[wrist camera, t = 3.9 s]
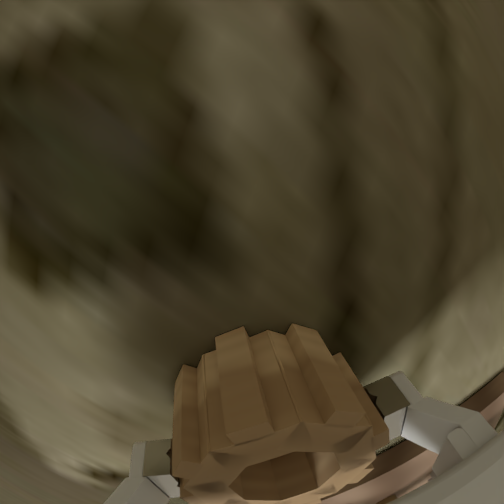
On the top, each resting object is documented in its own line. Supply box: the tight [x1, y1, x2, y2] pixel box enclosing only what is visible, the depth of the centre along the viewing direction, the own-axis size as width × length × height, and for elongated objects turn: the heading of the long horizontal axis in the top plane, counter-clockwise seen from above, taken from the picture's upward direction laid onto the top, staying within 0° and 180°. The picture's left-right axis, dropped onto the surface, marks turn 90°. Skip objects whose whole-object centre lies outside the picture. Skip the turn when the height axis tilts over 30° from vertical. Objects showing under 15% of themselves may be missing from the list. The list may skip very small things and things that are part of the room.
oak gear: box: [172, 323, 389, 504], centre depth 9 cm, size 7×7×4 cm
